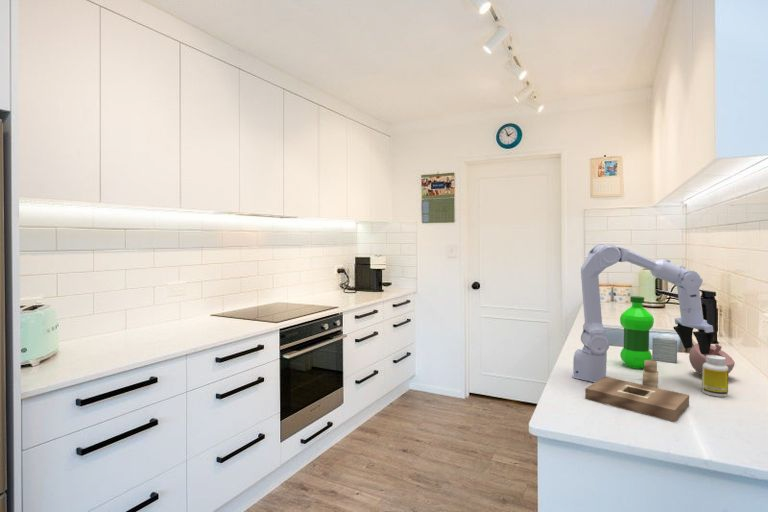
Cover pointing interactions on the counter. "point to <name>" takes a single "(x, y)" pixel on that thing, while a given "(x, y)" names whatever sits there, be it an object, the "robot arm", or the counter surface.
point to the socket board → (638, 398)
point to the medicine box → (664, 349)
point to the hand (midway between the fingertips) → (696, 350)
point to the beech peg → (650, 374)
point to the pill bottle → (715, 376)
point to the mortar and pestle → (700, 359)
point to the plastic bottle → (636, 334)
